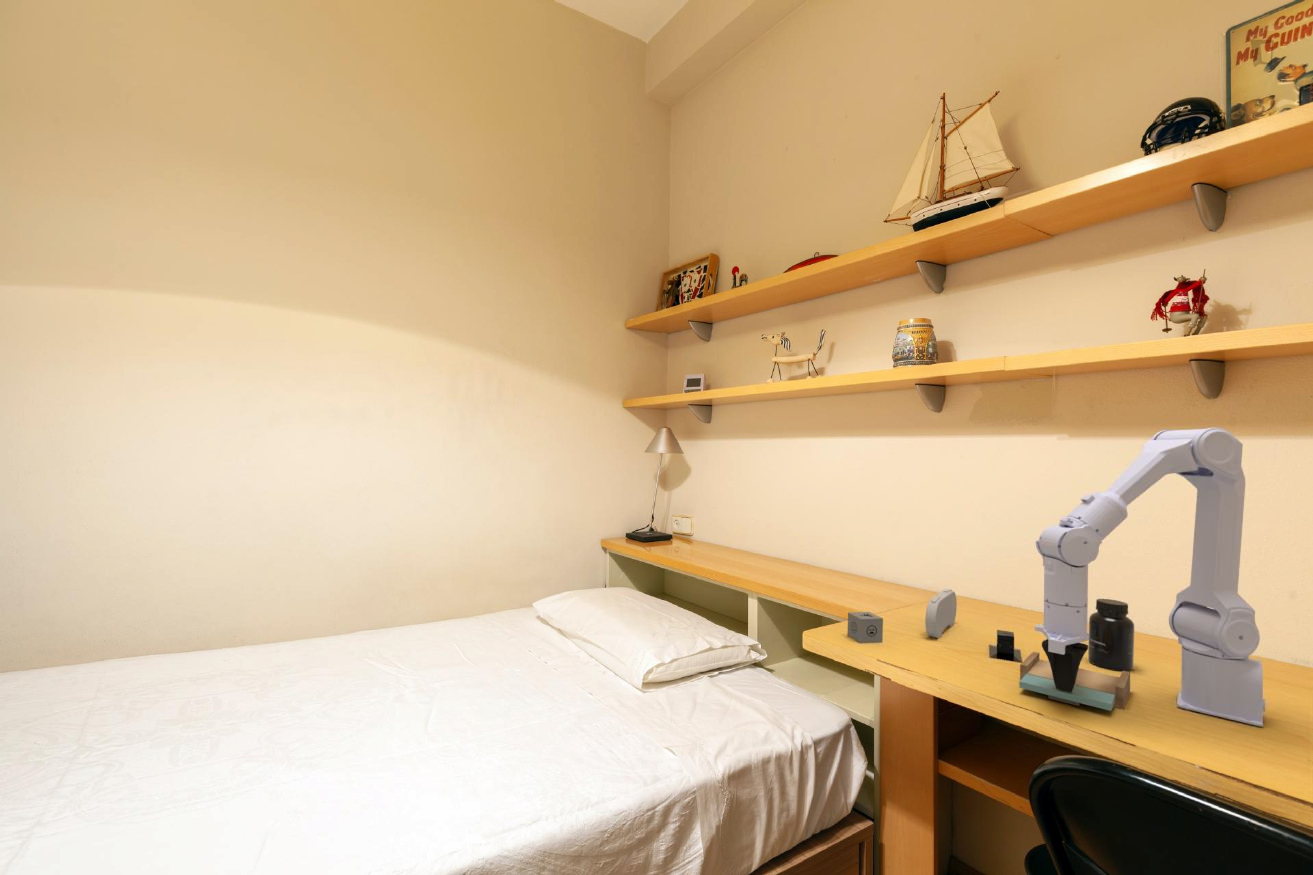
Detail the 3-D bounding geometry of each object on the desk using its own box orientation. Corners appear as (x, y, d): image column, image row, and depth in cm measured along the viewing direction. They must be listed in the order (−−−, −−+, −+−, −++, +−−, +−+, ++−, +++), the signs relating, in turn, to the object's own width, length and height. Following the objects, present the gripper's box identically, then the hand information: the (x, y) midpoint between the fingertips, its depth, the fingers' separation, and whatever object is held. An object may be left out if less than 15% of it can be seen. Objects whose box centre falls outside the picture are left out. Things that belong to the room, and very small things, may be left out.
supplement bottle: (1085, 664, 113) (1086, 600, 113) (1090, 656, 118) (1091, 595, 118) (1132, 674, 108) (1132, 608, 108) (1135, 665, 113) (1136, 601, 113)
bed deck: (1130, 691, 100) (1130, 672, 100) (1123, 709, 93) (1123, 688, 93) (1032, 668, 109) (1033, 651, 109) (1019, 683, 102) (1020, 664, 102)
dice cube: (882, 642, 123) (882, 618, 123) (860, 643, 122) (861, 619, 122) (868, 635, 128) (869, 611, 128) (847, 636, 127) (848, 612, 127)
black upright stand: (1027, 669, 111) (1028, 644, 111) (983, 661, 114) (983, 637, 114) (1024, 651, 122) (1024, 628, 122) (983, 644, 125) (984, 622, 125)
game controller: (946, 621, 141) (946, 585, 141) (956, 623, 140) (957, 587, 140) (923, 639, 126) (924, 600, 126) (935, 642, 124) (935, 602, 124)
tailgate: (1115, 694, 93) (1111, 704, 89) (1115, 704, 93) (1111, 714, 89) (1026, 673, 101) (1019, 681, 98) (1026, 683, 101) (1019, 691, 98)
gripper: (1045, 591, 102) (1044, 670, 102) (1025, 605, 92) (1024, 694, 92) (1095, 598, 98) (1094, 682, 97) (1081, 614, 87) (1080, 708, 87)
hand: (1064, 689), depth 94 cm, fingers closed
